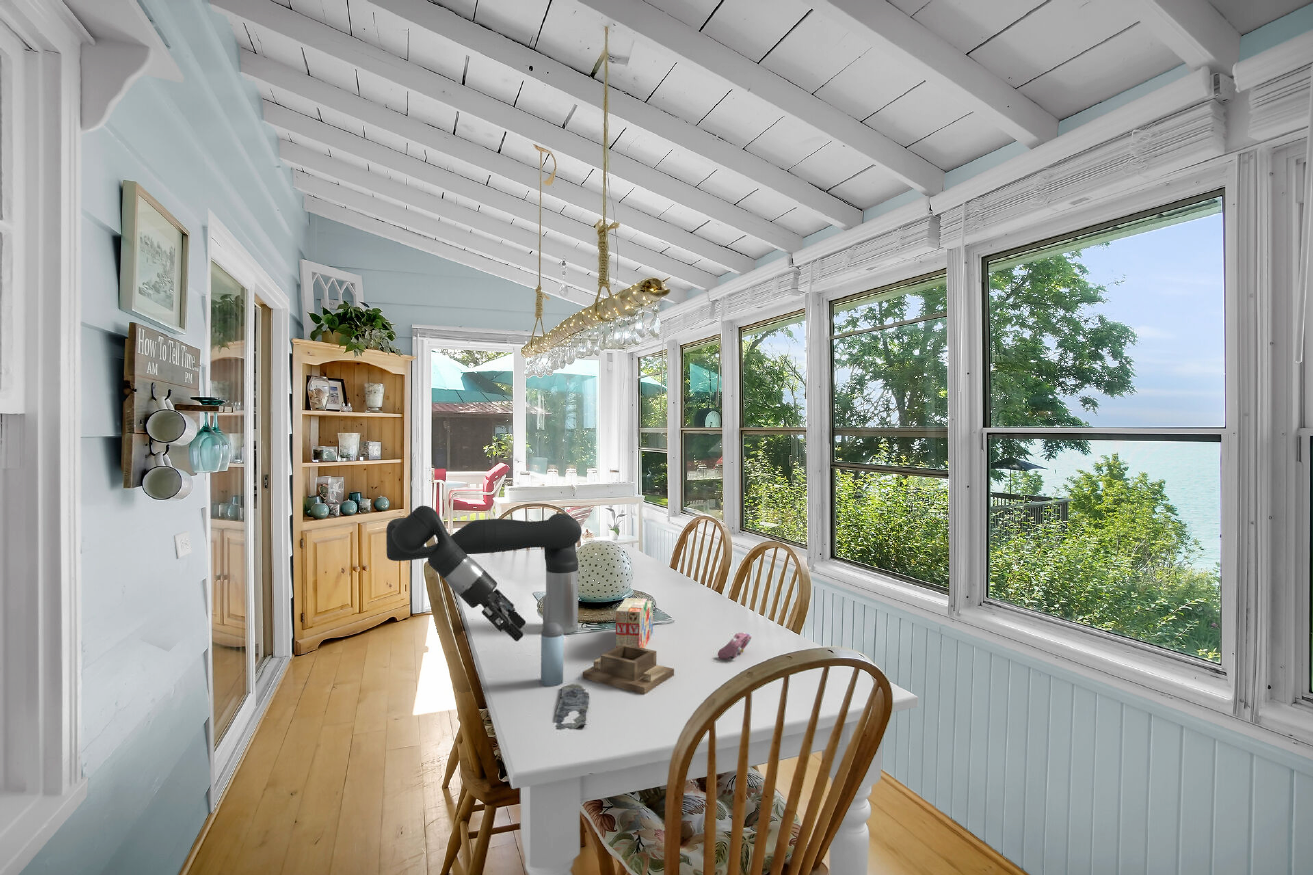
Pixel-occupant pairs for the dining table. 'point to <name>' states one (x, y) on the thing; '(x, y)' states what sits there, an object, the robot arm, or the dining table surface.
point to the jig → (629, 669)
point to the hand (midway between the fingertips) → (521, 631)
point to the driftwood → (572, 706)
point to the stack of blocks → (634, 622)
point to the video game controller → (735, 646)
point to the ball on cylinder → (552, 655)
